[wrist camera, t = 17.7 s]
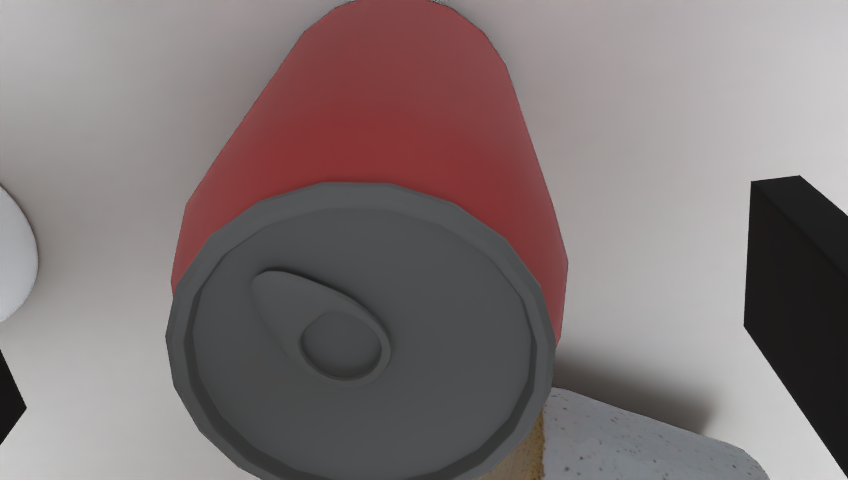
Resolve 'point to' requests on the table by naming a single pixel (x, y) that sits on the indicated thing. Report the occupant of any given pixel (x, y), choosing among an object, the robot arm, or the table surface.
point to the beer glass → (15, 256)
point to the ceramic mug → (617, 447)
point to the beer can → (372, 260)
